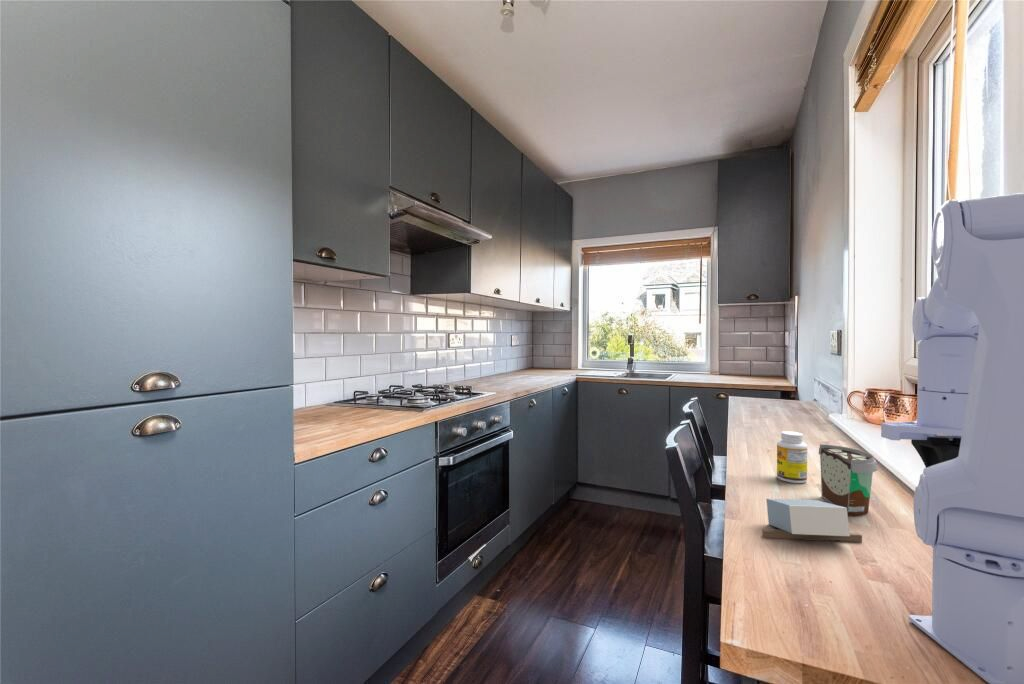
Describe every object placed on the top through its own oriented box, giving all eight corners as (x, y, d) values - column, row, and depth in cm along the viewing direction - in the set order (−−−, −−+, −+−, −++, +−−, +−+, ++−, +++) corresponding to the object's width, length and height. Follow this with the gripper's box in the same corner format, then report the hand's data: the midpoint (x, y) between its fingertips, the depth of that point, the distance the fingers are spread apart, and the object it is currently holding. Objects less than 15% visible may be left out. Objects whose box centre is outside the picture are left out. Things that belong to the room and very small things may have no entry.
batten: (862, 541, 67) (862, 535, 67) (764, 537, 68) (764, 531, 68) (858, 539, 68) (858, 533, 68) (762, 535, 69) (762, 529, 69)
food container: (894, 522, 74) (895, 462, 74) (852, 519, 75) (853, 460, 75) (853, 496, 86) (854, 445, 86) (817, 494, 87) (818, 443, 87)
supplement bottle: (775, 474, 100) (776, 429, 100) (805, 478, 97) (805, 431, 97) (777, 481, 95) (777, 434, 95) (808, 485, 92) (809, 436, 92)
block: (846, 507, 66) (816, 500, 73) (790, 505, 67) (766, 498, 74) (850, 536, 65) (819, 526, 72) (792, 533, 66) (768, 524, 73)
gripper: (979, 388, 60) (977, 487, 60) (865, 386, 62) (864, 484, 62) (1035, 395, 53) (1033, 507, 53) (905, 393, 55) (904, 502, 55)
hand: (946, 496), depth 57 cm, fingers closed
